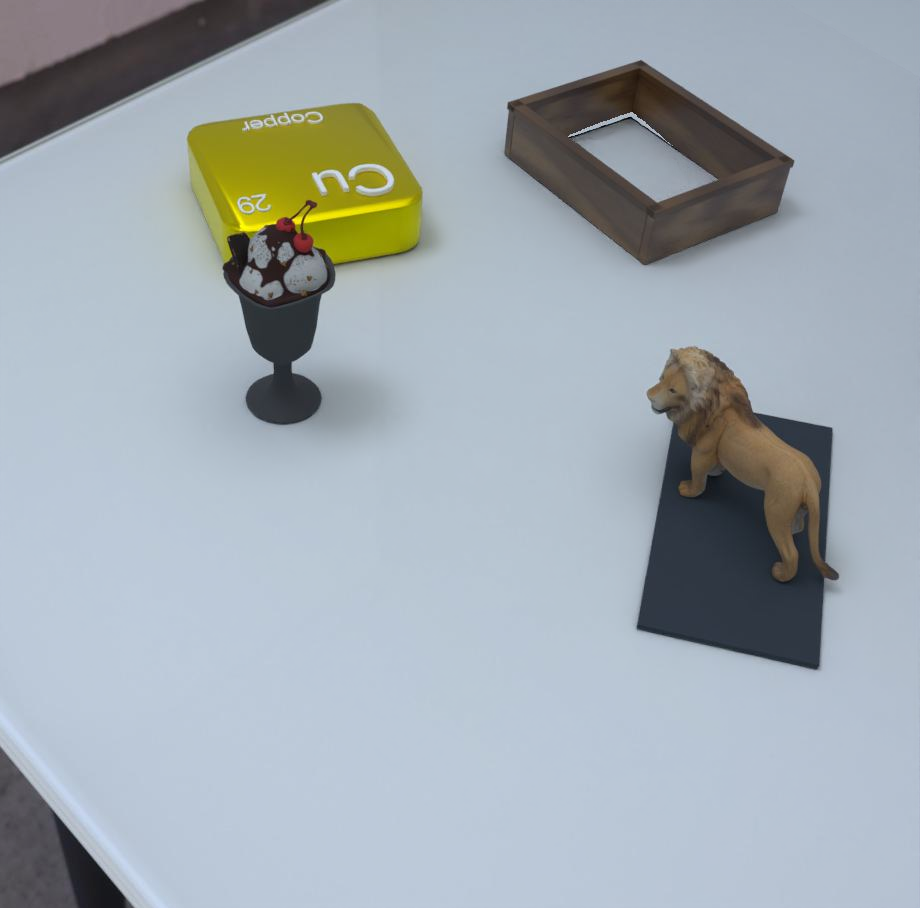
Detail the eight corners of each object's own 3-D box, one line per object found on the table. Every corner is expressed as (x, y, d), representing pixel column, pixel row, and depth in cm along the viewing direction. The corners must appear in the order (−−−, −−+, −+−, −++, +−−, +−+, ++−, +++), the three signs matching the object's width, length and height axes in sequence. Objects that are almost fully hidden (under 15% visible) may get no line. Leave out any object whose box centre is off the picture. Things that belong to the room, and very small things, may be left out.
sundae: (354, 408, 85) (359, 210, 74) (266, 446, 83) (256, 247, 72) (301, 353, 89) (297, 156, 78) (214, 388, 86) (197, 189, 75)
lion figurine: (615, 467, 82) (640, 355, 75) (671, 430, 84) (700, 318, 78) (808, 607, 74) (855, 496, 68) (863, 562, 77) (913, 451, 70)
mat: (677, 401, 87) (678, 397, 86) (831, 432, 85) (832, 427, 85) (636, 628, 74) (637, 624, 73) (817, 669, 72) (819, 665, 72)
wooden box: (631, 110, 112) (641, 59, 109) (779, 212, 102) (795, 160, 99) (501, 154, 107) (507, 101, 103) (644, 266, 97) (655, 212, 93)
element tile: (366, 146, 107) (367, 91, 103) (428, 250, 97) (431, 194, 94) (185, 173, 103) (180, 118, 100) (231, 284, 94) (227, 227, 90)
